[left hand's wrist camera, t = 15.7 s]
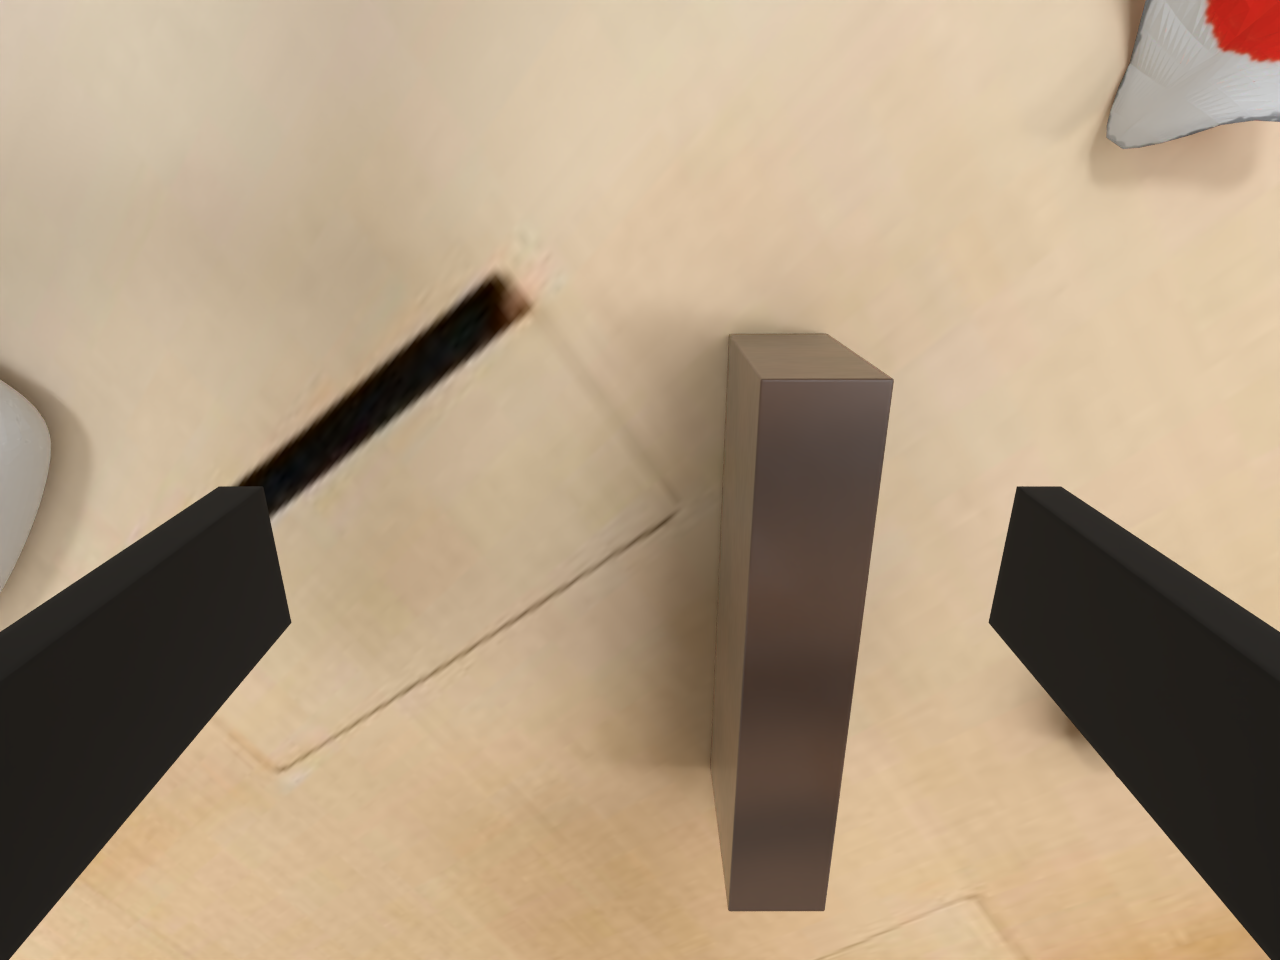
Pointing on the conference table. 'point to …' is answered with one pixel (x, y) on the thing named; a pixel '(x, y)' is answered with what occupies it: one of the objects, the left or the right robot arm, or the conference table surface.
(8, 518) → the projector
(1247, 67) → the red white curved piece
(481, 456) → the conference table surface
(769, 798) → the beam
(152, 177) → the conference table surface
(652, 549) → the conference table surface
